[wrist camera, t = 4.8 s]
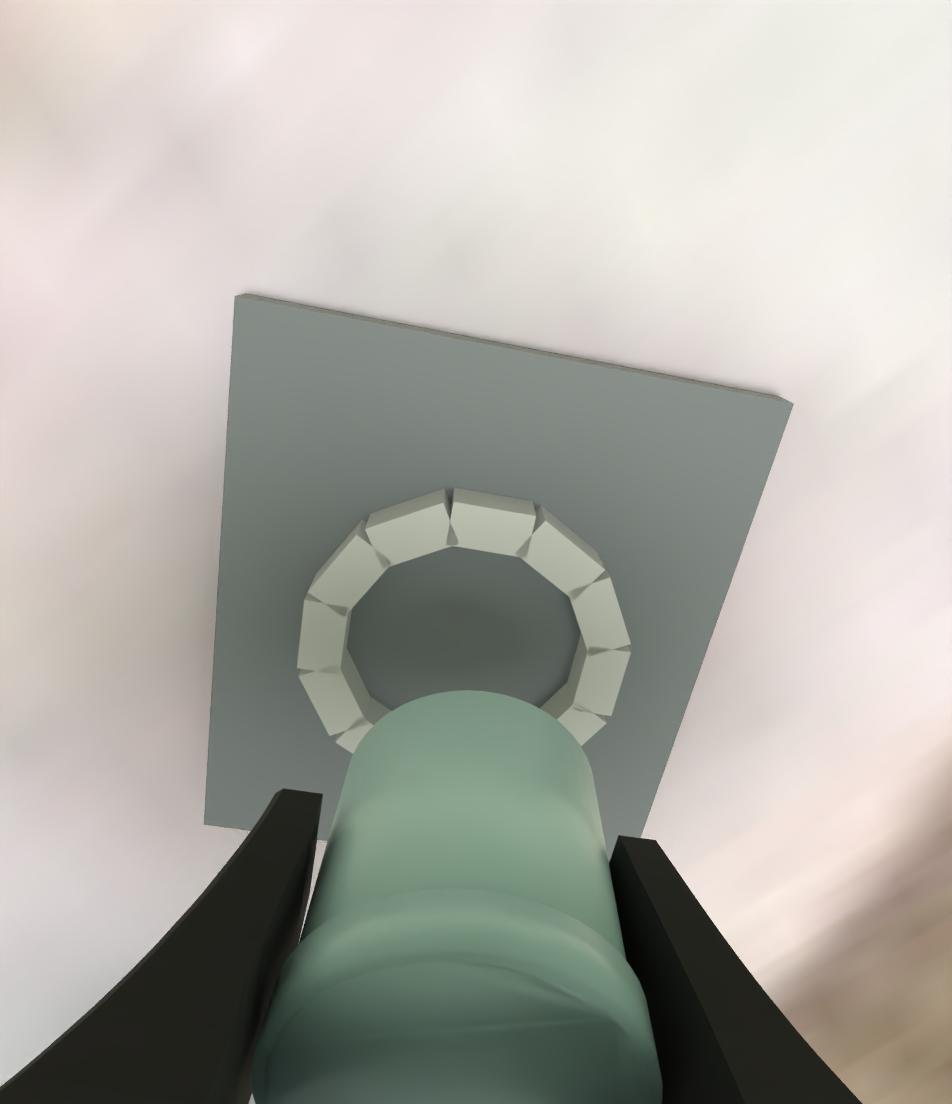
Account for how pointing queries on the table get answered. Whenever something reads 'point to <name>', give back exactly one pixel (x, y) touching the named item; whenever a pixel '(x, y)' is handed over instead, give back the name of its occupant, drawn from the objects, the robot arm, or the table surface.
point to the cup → (461, 927)
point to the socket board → (464, 547)
